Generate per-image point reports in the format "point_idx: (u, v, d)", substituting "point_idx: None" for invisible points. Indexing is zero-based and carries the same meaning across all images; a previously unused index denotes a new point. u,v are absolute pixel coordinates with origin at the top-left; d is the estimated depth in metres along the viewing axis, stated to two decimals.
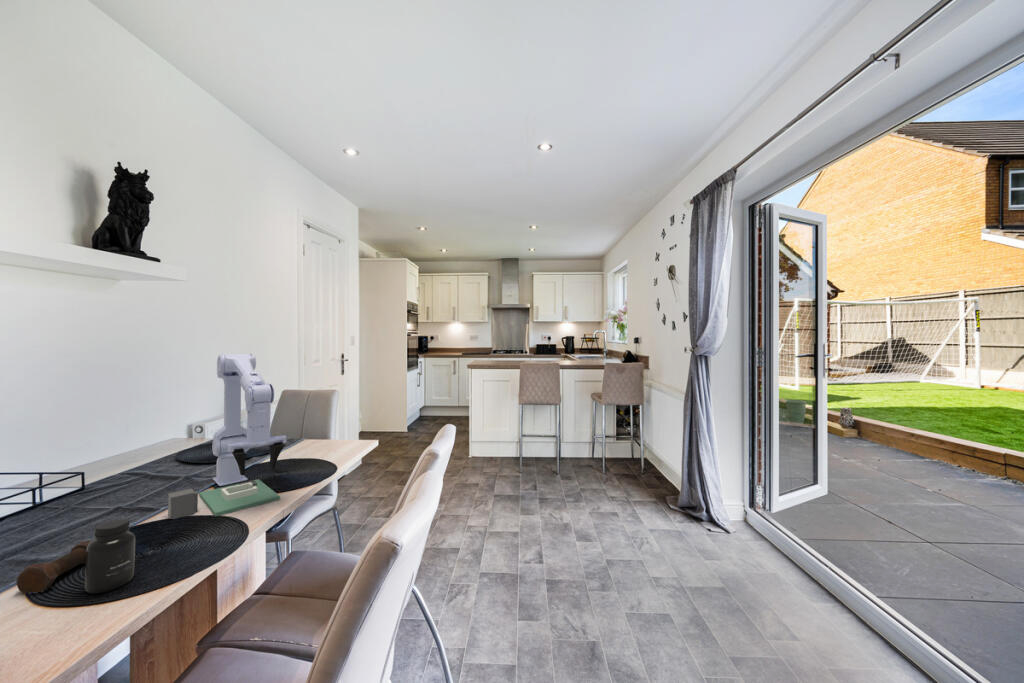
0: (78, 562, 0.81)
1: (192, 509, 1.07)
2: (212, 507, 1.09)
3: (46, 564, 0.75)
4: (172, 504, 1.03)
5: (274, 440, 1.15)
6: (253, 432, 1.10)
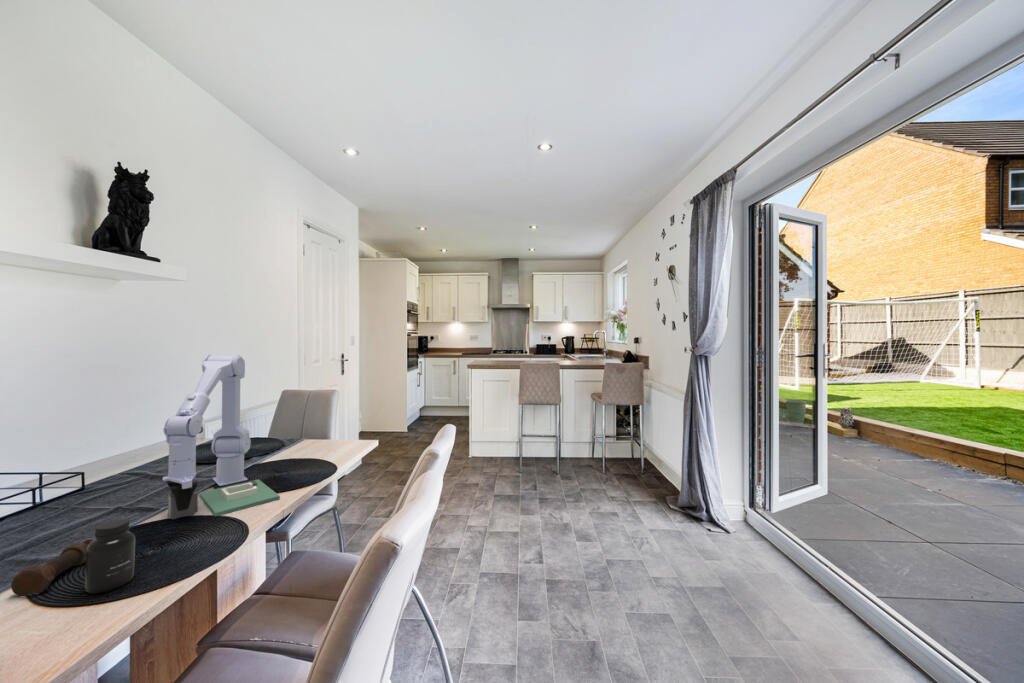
0: (71, 564, 0.80)
1: (192, 509, 1.07)
2: (212, 507, 1.09)
3: (42, 566, 0.74)
4: (172, 504, 1.03)
5: (175, 480, 1.02)
6: None
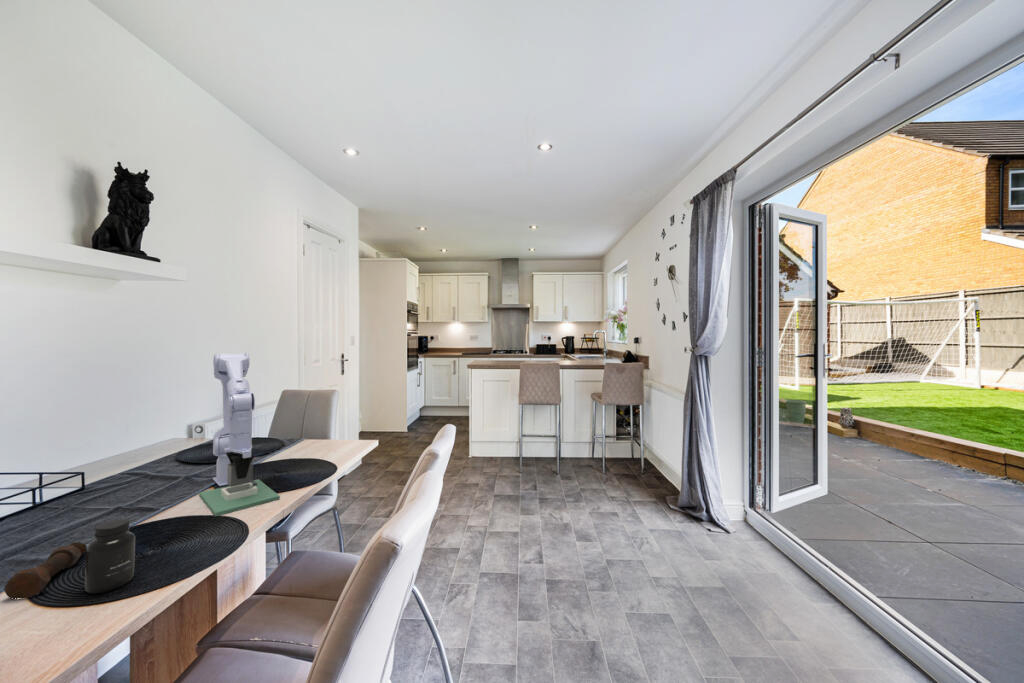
0: (62, 566, 0.79)
1: (248, 478, 1.18)
2: (212, 507, 1.09)
3: (38, 568, 0.73)
4: (232, 472, 1.15)
5: (236, 451, 1.14)
6: None
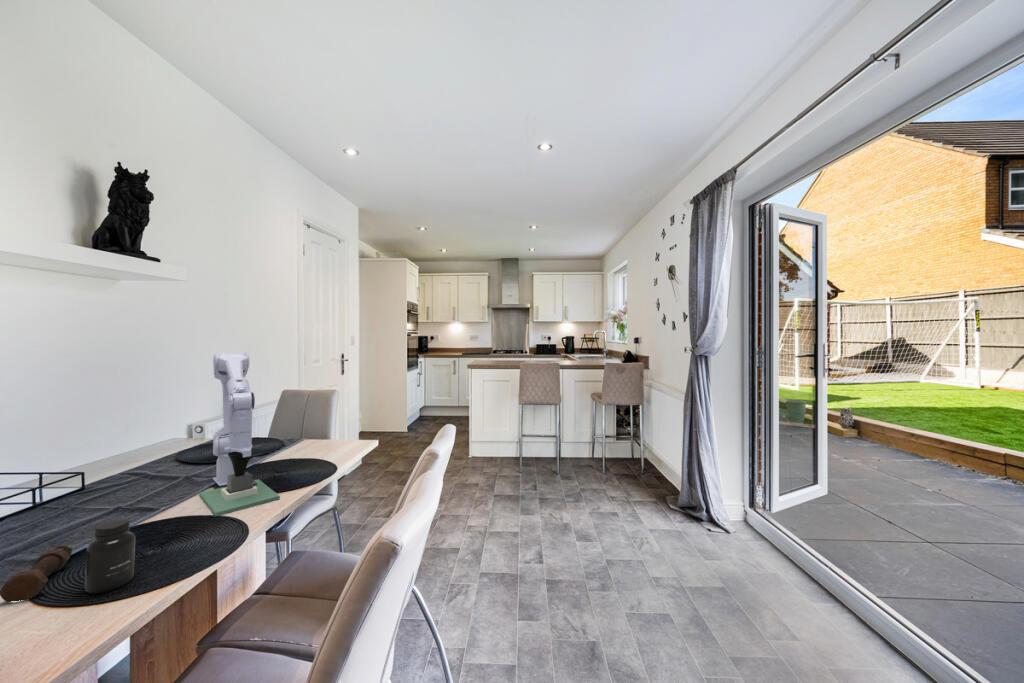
0: (53, 569, 0.78)
1: None
2: (212, 507, 1.09)
3: (35, 570, 0.73)
4: (232, 484, 1.15)
5: (236, 450, 1.14)
6: None
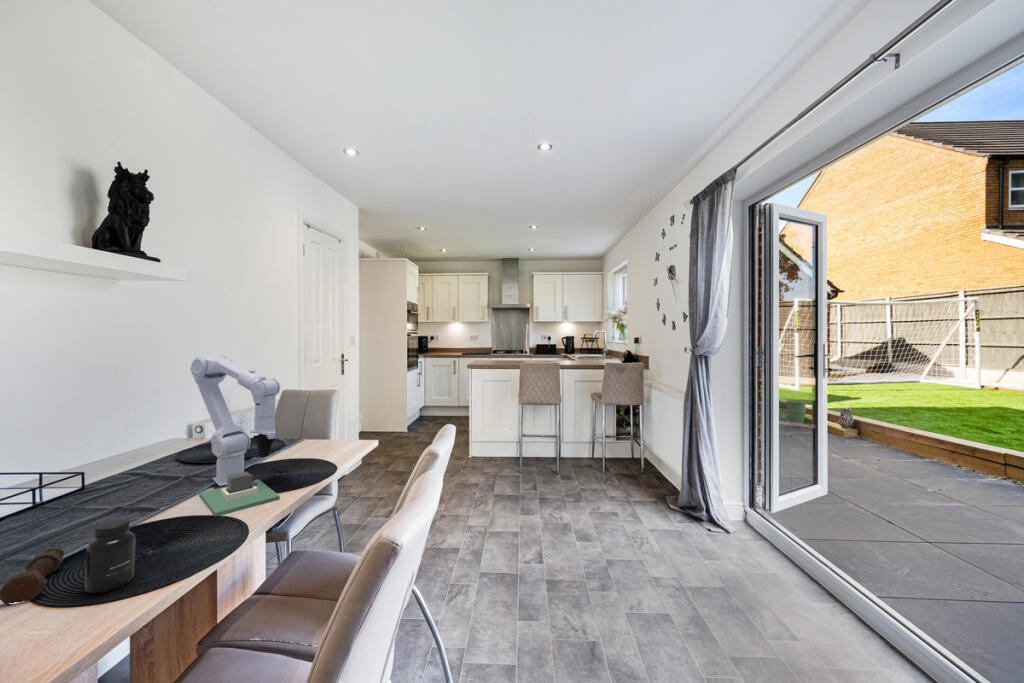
0: (48, 571, 0.78)
1: None
2: (212, 507, 1.09)
3: (34, 571, 0.72)
4: (232, 484, 1.15)
5: (261, 433, 1.24)
6: None
